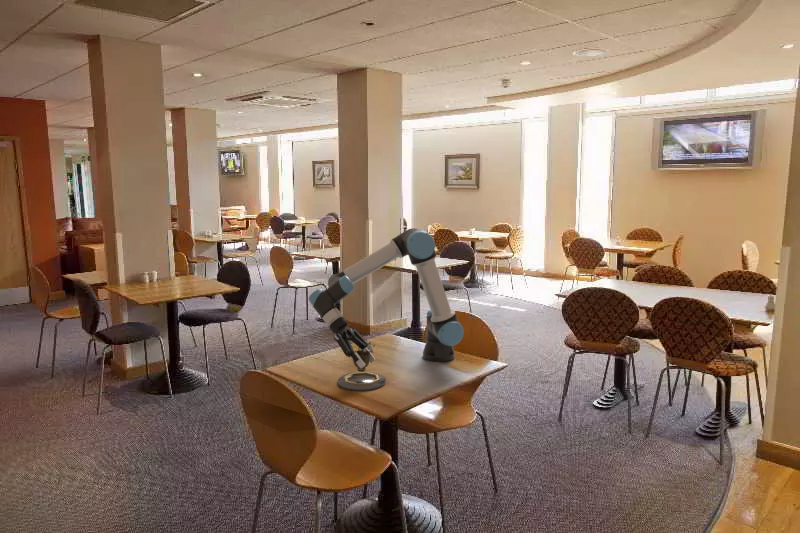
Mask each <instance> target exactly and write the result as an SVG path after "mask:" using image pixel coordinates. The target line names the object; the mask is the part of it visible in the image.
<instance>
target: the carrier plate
mask: <svg viewBox="0 0 800 533" xmlns="http://www.w3.org/2000/svg"><path fill="white" fill-rule="evenodd" d="M386 380H387V378H386V377H385V375H383V374H380V373H378V372H372V371H363V372H359V371H355V372H349V373H348V372H347V373H346V374H343V375H341V376H340V377H339V378H337V384H338V387H340V388H342V389H345V390H348V391H352V392H353V391H354V392H355V391H356V392H367V391H373V390H378V389H380V388H383V387H384V386H385V385H386V383H387V381H386Z"/></svg>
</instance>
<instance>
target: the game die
mask: <svg viewBox="0 0 800 533" xmlns="http://www.w3.org/2000/svg"><path fill="white" fill-rule="evenodd" d="M365 341H366V342H367V343H368V346H367V348H368V349H369V351H370V352H371V354H373V353H374V347H375V346H376V345H373V344H372V342H371V341H368V339H367V338H366V339H365ZM358 350H360V351H361V350H362V349H361V348H359V347H358V349H357V350H355V351H356V352H357V351H358Z"/></svg>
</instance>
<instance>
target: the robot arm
mask: <svg viewBox="0 0 800 533" xmlns="http://www.w3.org/2000/svg"><path fill="white" fill-rule="evenodd" d="M435 249H436V243H435V239H434V237H433V236H432V235H431V234H430V233H429V232H428V231H426V230H423V229H420V228H415V227H411V228H408V229H406V230H404V231H403V232H401V233H400V234H398V235H397V236H395V237H393V238H392V239H390V242H389V243H387V244H386V245H384V246H383V247H381V248H379V249H378V250H375V251H374V252H373V253H370V254H369V255H368V256H366V257H364V258H362V259H360V260H359V261H357V262H356V263H354V264H352V265H350V266H349V267H347V268H345V269H344V270H342V271H340V272H339V273H336V274H332V275H330V277H328V279H327V286H328V288H326V289H325V290H323V289H322V288H318V289H316V290H314V291H313V292H312V293H311V294H310V295H309V296H308V301H309V303H310V304H311V306H312V308H314V310H315V311H316V313H317V314H318V316H320V317H321V319H322V320H323V322H324V323H325V324H326V325H327V327H329V329H330V330H331V332H332V333H333V334H334V336H333V339H334V341H336V342H337V344H338V346H339V348H340V349H341V350H342V352H343V353H344V355H345V356H346V357H347V358H351V359H352V361H353V360H354V361H355V362H356V363H357V364H358V366H359V367H360V368H361V369H362V368H363V367H364V366H365V365H366V364H365V363H364V362H363V360H362V359H361V358H360V356H359V355H358V354H357V352H355V350H354V348H353V345H352V343H353V344H355V345H356V346H357V347H358V348H361V349H362V350H363V352H366V350H367V351H369V349H368V348H367V346H368V343H367V342H366V339H365V338H364V337H363V336H362V335H361V334H360V332H359V331H357V329H356V327H354V326H353V327H352V328H351V327H349V326H348V323H349V322H348V321H347V320H346V318H345V316H343V314H342V313H341V311H340V310H339V309H338V308H337V306H336V304H338V303H339V302H341V301H342V300H344V298H346V297H347V296H349V295H350V294H351V293H352V292H353V291H354V290H355V289H356V286H355V285H354V284H356V283H357V282H359V281H361V280H363V279H364V278H366V277H367V276H369V275H371V274H373V273H374V272H376V271H377V270H379V269H381V268H383V267H384V266H386V265H388V264H389V263H391V262H393V261H395V260H396V259H398V258H400V259H403V258H404V257H405V256H408V258H409V260H410V264H411V265H412V266H415V267H416V270H417V273H418V277H419V279H420V282H421V286H422V289H423V291H424V294H425V297H426V300H427V303H428V306H429V309H430V310H427V312H426V342H425V346H424V347H423V351H422V358H423V359H425V360H426V361H430V362H449V361H453V360H454V359H455V356H456V354H455V351H454V346H456V345H457V344H459V343H460V342H461V340H462V339H463V337H464V333H465V332H464V330H465V329H464V328H463V325H462V324H461V323H460V322H459V319H458V316H457V313H456V311H455V310H454V309H451V306H450V304H449V303H450V302H449V300H448V297H447V294H446V291H445V288H444V285H443V282H442V279H441V276H440V273H439V270H438V267H437V264H436V260H435V259H436V258H437V252H436V250H435ZM351 342H352V343H351ZM354 352H355V353H354ZM375 360H376V358H375V356H374V355H373V353H371V352H370V359H369V364H372V363H374V362H375Z"/></svg>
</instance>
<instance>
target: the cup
mask: <svg viewBox="0 0 800 533" xmlns="http://www.w3.org/2000/svg"><path fill="white" fill-rule="evenodd" d="M356 351H357V354H358V355H359V356H360V358H361V359H362V360H363V362H364V363H365V364H366V365H365V366H364V367H363V368H362V369H361V368H360V367H359V366H358V364H357V363H356V362H355V361H354V360H353V359H352V362H353V366H354V367H356V370H357V372H366V369H367V367H368V366H369V364H370V361H369V359H370V351H367V350H366V352H363V350H361V351H360V350H358V349H357V350H354V353H355V352H356Z"/></svg>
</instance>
